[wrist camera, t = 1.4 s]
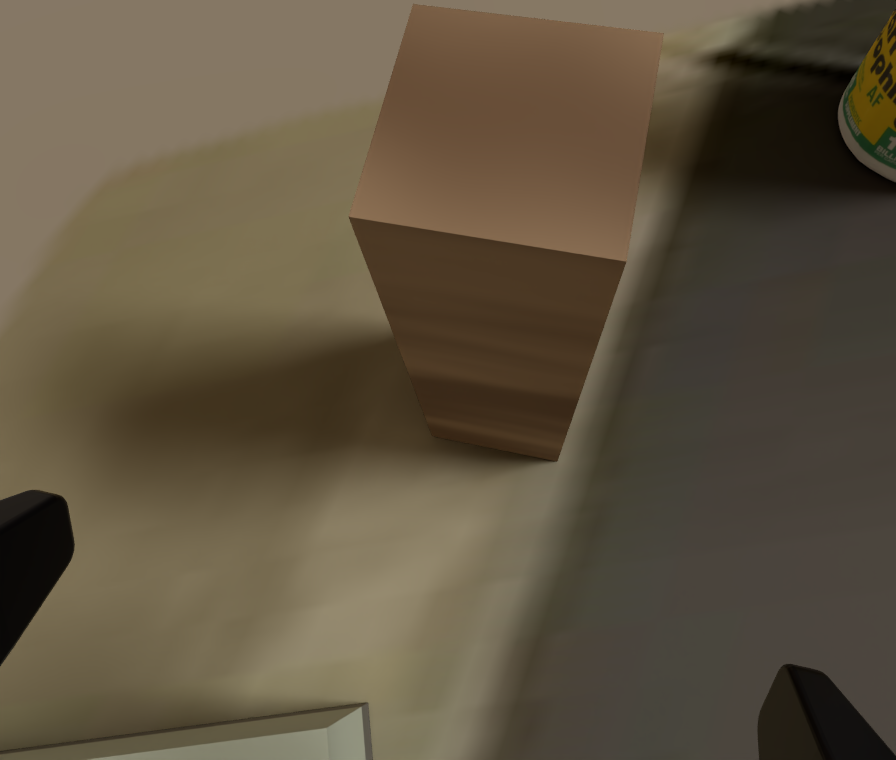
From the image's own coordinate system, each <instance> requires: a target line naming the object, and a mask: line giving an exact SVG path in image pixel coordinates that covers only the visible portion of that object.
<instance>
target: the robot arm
mask: <svg viewBox="0 0 896 760" xmlns="http://www.w3.org/2000/svg"><path fill="white" fill-rule="evenodd" d="M74 546H75V544H74V537H73V531H72V526H71V520H70V515H69V509H68V505H67V502H66V500H65V499H64V498H63V497H62V496H60V495H57V494H53V493H49V492H44V491H40V490H29V491H25V492H23V493H20V494H17V495H14V496H11V497H8V498H5V499H3V500H0V666H1V664H2V663H3V662H4V660H5V659H6V657H7V656H8V654H9V653H10V652H11V650H12V649H13V647H14V646H15V644H16V643H17V641H18V640H19V638H20V637H21V635H22V634H23V632H24V631H25V629H26V628H27V626H28V625H29V623H30V622H31V620H32V619H33V617H34V616H35V614H36V613H37V611H38V610H39V608H40V607H41V605H42V604H43V602H44V601H45V599H46V598H47V596H48V595H49V593H50V592H51V590H52V589H53V587H54V586H55V584H56V583H57V581H58V580H59V578H60V577H61V575H62V574H63V572H64V571H65V569H66V568H67V566H68V565H69V563H70V561H71V559H72V556H73V553H74ZM758 748H759V760H896V755H895V754H894V753H893V752H892V751H891V750H890V748H889V747H888V746H887V745H886V744H885V743H884V741H883V740H882V739H881V738H880V737H879V736H878V734H877V733H876V732H875V731H874V730H873V729H872V727H871V726H870V725H869V724H868V723H867V722H866V720H865V719H864V718H863V717H862V716H861V715H860V713H859V712H858V711H857V710H856V709H855V708H854V706H853V705H852V704H851V703H850V702H849V701H848V699H847V698H846V697H845V696H844V695H843V694H842V692H841V691H840V690H839V689H838V688H837V687H836V685H835V684H834V683H833V682H832V681H831V680H830V678H829V677H828V676H827V675H825V674H824V673H823V672H821V671H818V670H815V669H811V668H806V667H802V666H798V665H793V664H785V665H783V666H782V667H781V668H780V670H779V671H778V673H777V675H776V677H775V679H774V682H773V684H772V686H771V688H770V690H769V693H768V695H767V697H766V699H765V701H764V703H763V706H762V708H761V710H760V714H759V719H758Z"/></svg>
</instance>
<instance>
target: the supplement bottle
mask: <svg viewBox="0 0 896 760" xmlns="http://www.w3.org/2000/svg"><path fill="white" fill-rule="evenodd" d="M838 122H839V127H840V131H841V134H842V137H843V139H844V141H845V143H846V145H847V146H848V148H849V149H850V151H851V152H852V153H853V154H854V155H855V157H856V158H857V159H858V160H859V161H860V162H861V163H863V164H864V165H866V166H867V167H868V168H870V169H872V170H873V171H875V172H877V173H878V174H880V175H881V176H883V177H885V178H887V179H889V180H891V181H893V182H896V9H895V11H894V12H893V14H892V16H891V17H890V19H889V21H888V22H887V24H886V25H885V27H884V29H883V30H882V32H881V33H880V35H879V36H878V38H877V39H876V41H875V42H874V44H873V46H872V47H871V49H870V51H869V52H868V54H867V55H866V57H865V58H864V60H863V61H862V63H861V65H860V66H859V68H858V70H857V71H856V73H855V74H854V76H853V77H852V79H851V81H850V83H849V85H848V86H847V88H846V90H845V92H844V94H843V96H842V98H841V101H840V104H839V108H838Z"/></svg>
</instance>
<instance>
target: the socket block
mask: <svg viewBox="0 0 896 760" xmlns="http://www.w3.org/2000/svg"><path fill="white" fill-rule="evenodd" d="M0 760H373V756H372V744H371V732H370V720H369V708H368V703H361V704H354V705H346V706H339V707H331V708H324V709H316V710H308V711H301V712H293V713H286V714H278V715H271V716H263V717H256V718H248V719H241V720H233V721H225V722H218V723H210V724H203V725H195V726H188V727H180V728H173V729H165V730H157V731H150V732H142V733H135V734H127V735H120V736H112V737H105V738H97V739H90V740H82V741H74V742H67V743H59V744H52V745H44V746H37V747H29V748H22V749H14V750H7V751H0Z"/></svg>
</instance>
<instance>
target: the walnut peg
mask: <svg viewBox="0 0 896 760" xmlns="http://www.w3.org/2000/svg"><path fill="white" fill-rule="evenodd" d="M663 36H664V33H657V32H648V31H640V30H631V29H622V28H613V27H605V26H597V25H587V24H579V23H571V22H561V21H554V20H545V19H537V18H528V17H520V16H511V15H502V14H494V13H485V12H476V11H467V10H460V9H450V8H442V7H433V6H425V5H417V4H413V6H412V10H411V13H410V16H409V19H408V23H407V26H406V29H405V33H404V36H403V39H402V42H401V46H400V49H399V52H398V56H397V59H396V62H395V66H394V69H393V72H392V75H391V79H390V82H389V85H388V89H387V92H386V95H385V98H384V102H383V105H382V108H381V112H380V115H379V118H378V121H377V125H376V128H375V131H374V135H373V138H372V141H371V145H370V148H369V151H368V154H367V158H366V161H365V164H364V168H363V171H362V174H361V177H360V181H359V184H358V187H357V191H356V194H355V197H354V201H353V204H352V207H351V210H350V214H349V219H350V222H351V224H352V227H353V230H354V232H355V235H356V237H357V240H358V243H359V245H360V248H361V251H362V253H363V256H364V258H365V261H366V264H367V266H368V269H369V271H370V274H371V277H372V279H373V282H374V285H375V287H376V290H377V292H378V295H379V298H380V300H381V303H382V306H383V308H384V311H385V313H386V316H387V319H388V321H389V324H390V327H391V329H392V332H393V334H394V337H395V340H396V342H397V345H398V347H399V350H400V353H401V355H402V358H403V361H404V363H405V366H406V368H407V371H408V374H409V376H410V379H411V382H412V384H413V387H414V389H415V392H416V395H417V397H418V400H419V403H420V405H421V408H422V410H423V413H424V416H425V418H426V421H427V423H428V426H429V429H430V431H431V434H432V436H434V437H439V438H444V439H449V440H454V441H459V442H464V443H469V444H474V445H478V446H483V447H488V448H493V449H498V450H503V451H508V452H513V453H518V454H523V455H528V456H533V457H538V458H543V459H547V460H552V461H558V458H559V455H560V452H561V449H562V446H563V443H564V440H565V438H566V435H567V432H568V429H569V426H570V423H571V420H572V417H573V414H574V412H575V409H576V406H577V403H578V400H579V397H580V394H581V391H582V388H583V386H584V383H585V380H586V377H587V374H588V371H589V368H590V365H591V362H592V359H593V357H594V354H595V351H596V348H597V345H598V342H599V339H600V336H601V333H602V331H603V328H604V325H605V322H606V319H607V316H608V313H609V310H610V307H611V305H612V302H613V299H614V296H615V293H616V290H617V287H618V284H619V281H620V279H621V276H622V273H623V270H624V267H625V264H626V261H627V255H628V249H629V242H630V236H631V230H632V224H633V218H634V212H635V206H636V200H637V194H638V188H639V182H640V176H641V169H642V163H643V157H644V151H645V145H646V139H647V133H648V127H649V121H650V115H651V109H652V103H653V97H654V90H655V84H656V78H657V72H658V66H659V60H660V54H661V48H662V42H663Z"/></svg>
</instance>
